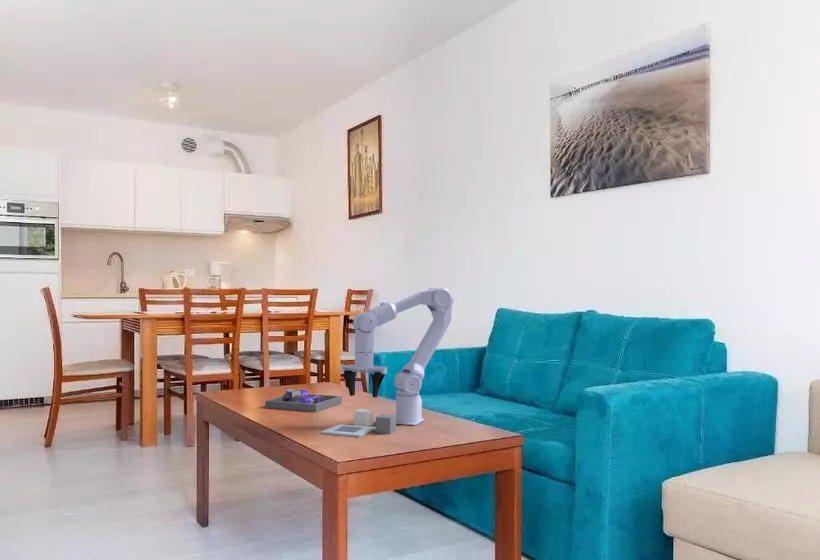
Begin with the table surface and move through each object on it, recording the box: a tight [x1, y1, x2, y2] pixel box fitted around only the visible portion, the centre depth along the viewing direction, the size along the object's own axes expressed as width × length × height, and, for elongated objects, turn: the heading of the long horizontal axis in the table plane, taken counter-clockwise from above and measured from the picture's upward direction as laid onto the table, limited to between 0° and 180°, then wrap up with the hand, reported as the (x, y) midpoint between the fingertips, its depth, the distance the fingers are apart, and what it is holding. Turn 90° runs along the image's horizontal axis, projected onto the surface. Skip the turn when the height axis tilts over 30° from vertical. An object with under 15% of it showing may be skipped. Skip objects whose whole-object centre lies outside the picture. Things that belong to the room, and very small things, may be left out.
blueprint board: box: [320, 423, 376, 438], centre depth 192 cm, size 12×12×1 cm
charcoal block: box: [375, 414, 397, 435], centre depth 192 cm, size 5×5×5 cm
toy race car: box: [282, 388, 325, 404], centre depth 236 cm, size 10×15×6 cm, turn 127°
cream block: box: [352, 408, 374, 427], centre depth 201 cm, size 5×5×5 cm
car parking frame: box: [264, 393, 343, 413], centre depth 235 cm, size 20×20×2 cm
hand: (363, 396), depth 201 cm, fingers open, 7 cm apart
